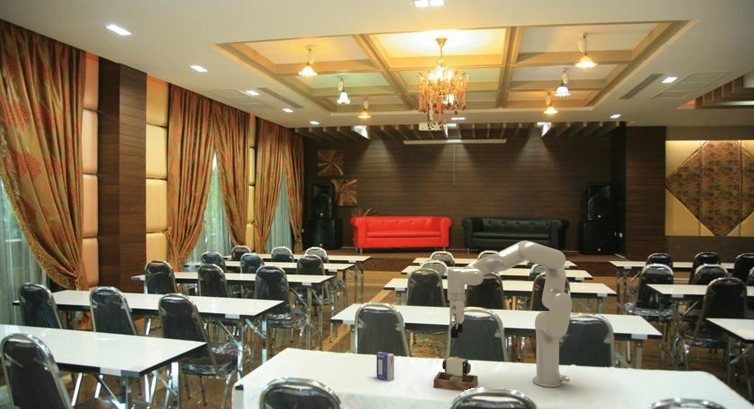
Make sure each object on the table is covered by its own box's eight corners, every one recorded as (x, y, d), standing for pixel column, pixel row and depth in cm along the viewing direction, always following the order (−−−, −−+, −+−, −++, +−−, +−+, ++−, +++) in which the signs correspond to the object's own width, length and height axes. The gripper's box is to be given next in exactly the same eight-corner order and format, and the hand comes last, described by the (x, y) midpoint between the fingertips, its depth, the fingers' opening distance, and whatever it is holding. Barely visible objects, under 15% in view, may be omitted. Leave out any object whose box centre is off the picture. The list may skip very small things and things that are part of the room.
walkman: (376, 378, 243) (376, 352, 243) (379, 376, 246) (379, 350, 245) (391, 381, 239) (391, 354, 239) (394, 379, 241) (394, 353, 241)
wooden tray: (477, 383, 236) (477, 375, 236) (473, 392, 226) (473, 384, 226) (439, 379, 242) (439, 371, 242) (433, 387, 231) (433, 379, 231)
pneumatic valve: (466, 388, 229) (466, 360, 229) (442, 383, 235) (442, 356, 235) (471, 384, 233) (471, 357, 233) (447, 379, 240) (447, 353, 240)
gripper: (461, 300, 224) (461, 340, 224) (467, 293, 241) (468, 331, 241) (443, 299, 227) (444, 339, 227) (451, 292, 243) (452, 330, 243)
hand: (456, 335), depth 234 cm, fingers open, 9 cm apart
